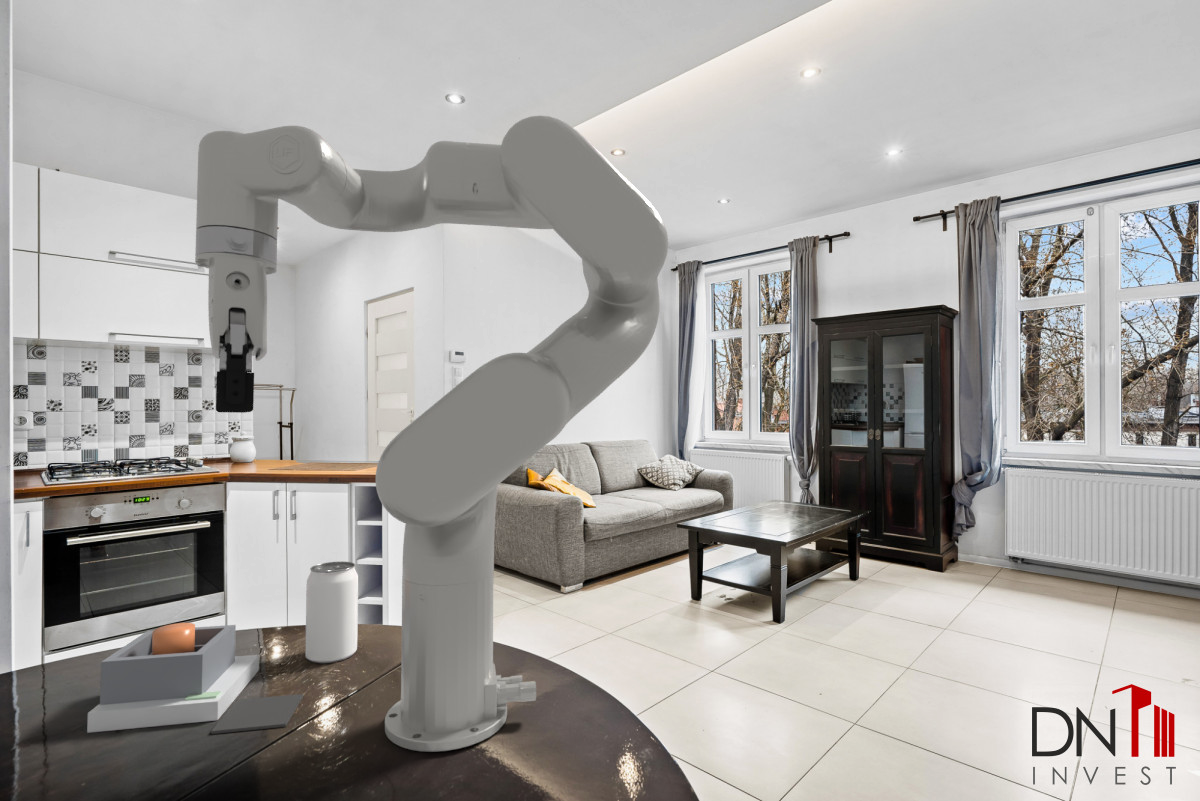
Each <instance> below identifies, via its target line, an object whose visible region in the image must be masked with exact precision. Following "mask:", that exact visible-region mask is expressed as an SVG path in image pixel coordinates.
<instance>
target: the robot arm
mask: <svg viewBox="0 0 1200 801" xmlns="http://www.w3.org/2000/svg"><path fill="white" fill-rule="evenodd" d="M196 188H197V189H196V220H195V221H196V224H195V225H196V227H195V228H196V229H195V260H194V262H195V263H196V265H199V266H200V267H203V268H206V269H208V289H207V290H208V291H207V292H208V293H207V294H208V301H207V302H208V304H207V305H208V310H207V311H208V329H209V331H208V332H209V339H210V340H209V341H210V346H211V351H212V356H213V357H214V358H216V359H219V368H218V369H219V370H218V371H216V385H215V411H217V413H237V414H238V413H239V414H240V413H242V414H244V413H251V412H253V411H254V403H255V402H254V399H255V398H254V396H255V395H254V392H255V390H254V389H255V372H252V371H253V356H254V357H255V361H261V360H262V359H263V358H264V357H265V356H266V355H267V352H268V340H267V338H268V337H267V336H268V335H267V330H268V327H267V326H268V325H267V324H268V286H267V285H268V284H267V281H268V280H267V275H268V276H269V275H272V274H276V273H277V265H278V264H277V263H278V259H277V258H278V228H279V227H278V226H279V224H278V223H279V222H278V221H279V219H278V218H279V217H278V216H279V200H281V201H283V202H286V203H287V204H290V205H292V206H295V207H296V208H297V209H299V210H301V212H303V213H305V214H306V215H307V216H308V217H310V218H311V219H312V220H314V221H315V222H317V223H319V224H321V225H324V226H327V227H330V228H334V229H337V230H338V229H339V230H347V231H348V230H349V231H361V232H363V231H364V232H374V233H375V232H377V233H400V232H401V233H402V232H407V231H412V230H413V231H415V230H418V229H419V230H420V229H425V228H430V227H433V226H435V225H439V224H450V225H451V224H454V225H472V226H484V227H486V226H487V227H489V226H490V227H506V228H516V229H534V230H554V232H555V233H556V234H557V235H558V236H559V237H560V238H561V239H562V240H563V241H564V242H565V243H566V244H567V245H568V246H569V248H571V249H572V250H573V251H574V253H576V254H577V256H579V258H580V259H581V261H582V262H581V264H582V271H583V277H584V280H585V282H586V283H585V284H586V285H587V289H588V296H587V299H586V301H585V304H584V306H583V307H582V308H581V309H580V310H579V311H578V312H576V313H575V314H574V315H572V316H571V317H569V318H568V319H566V320H565V321H563V323H561V324H560V325H559V326H558V327H557V328H556V329H555V330H554V331H552V333H550V334H549V335H548V336H546V337H545V338H544V339H543V340H542V341H540V342H539V343H538V344H537V345H535V346H534V347H533V348H531V349H530V350H529V351H528V352H511V353H506V354H502V355H499V356H497V357H495V358H493V359H491V360H489V361H487V362H485V363H484V364H482V365H481V366H480V367H478V368H477V369H475V370H474V371H473V372H472V373H471V374H469V375H468V376H467V377H465V378H464V379H463V380H462V381H461V382H459V383H458V384H456V386H454V387H453V388H452V389H451V390H450V391H449V392H447V393H446V394H445V395H443V396H442V397H441V398H440V399H439V400H437V401H436V402H435V403H434V404H433V405H431V406H430V407H429V408H428V409H426V410H425V411H424V412H423V413H421V415H419V416H418V417H416V418H415V419H414V420H413V421H412V422H411V423H409V424H408V425H407V426H406V427H405V428H404V429H402V430H401V431H400V432H399V433H397V435H395V437H394V438H392V439H391V441H390V442H389V443H388V444H387V446H386V447H384V448H385V449H384V450H383V451H382V454H381V455H380V458H379V459H378V461H377V462H378V463H377V467H376V471H375V488H376V493H377V496H378V499H379V501H380V502H381V505H382V506H383V508H384V509H385V511H386V512H387V513H389V514H390V515H391V516H392V517H393V518H394V519H396V520H398V521H400V522H401V523H404V524H405V525H404V526H405V527H404V532H403V533H404V534H403V543H402V544H403V546H402V573H401V574H402V576H401V577H402V579H401V580H402V581H401V582H402V584H401V650H400V651H401V657H400V658H401V659H400V661H401V662H400V664H401V665H400V666H401V667H400V668H401V669H400V670H401V671H400V672H401V674H400V675H401V677H400V686H401V687H400V700H399V701H397V702H396V703H394V704H393V705H392V707H391V708H389V709H388V711H387V713H386V715H385V717H384V732H385V735H386V737H387V738H388V740H390V742H392V743H393V744H395V745H397V746H398V747H401V748H404V749H406V750H407V749H408V750H410V751H415V752H416V751H417V752H426V753H427V752H428V753H433V752H434V753H435V752H438V753H439V752H448V751H453V750H459V749H463V748H467V747H470V746H473V745H475V744H479V743H480V742H483V741H484V740H487V739H488V738H490V737H492V736H493V735H495V733H497V732H498V731H500V729H501V728H502V727H503V726H504V724H505V722H506V720H507V716H508V703H514V702H519V703H522V702H523V703H524V702H534V701H536V700H537V685H536V684H537V682H536V680H533V681H523V680H524V679H523V675H521V674H519V675H511V676H505V677H502V674H497V670H496V664H495V663H494V571H495V532H496V531H495V530H496V529H495V528H496V511H497V498H498V485H501V483H502V482H503V481H505V480H506V479H507V478H508V477H509V476H511V475H512V474H514V472H515V471H516V470H518V469H519V468H520V467H522V466H523V465H524V464H525V463H527V461H529V460H530V459H531V458H532V457H533V456H534V455H537V453H538V452H539V451H540V450H542V449H543V448H544V447H545V446H547V445H548V444H549V443H550V442H551V441H553V440H554V439H555V438H556V437H557V436H558V435H560V433H561V432H562V431H563V429H564V428H565V427H566V426H567V424H568V423H569V422H570V421H571V420H572V419H574V417H576V416H577V415H578V414H579V413H580V412H581V411H582V410H584V409H585V408H586V407H587V406H588V405H589V404H591V403H592V402H593V401H594V400H596V398H598V397H599V396H600V395H601V394H602V393H603V392H604V391H606V390H607V389H608V387H610V386H611V385H612V384H613V383H614V382H616V381H617V379H619V378H620V377H621V376H622V375H623V374H625V372H626V371H628V370H629V369H630V368H631V367H632V366H633V365H634V364H635V363H636V362H637V361H638V360H639V359H640V357H641V356H642V355H643V354H644V353H645V351H646V349H647V348H648V346H649V345H650V343H651V341H652V339H653V336H654V334H655V332H656V328H657V324H658V321H659V316H660V315H659V314H660V309H661V308H660V293H659V292H660V291H659V282H658V281H659V279H658V277H659V275H660V272H661V270H662V269H663V267H664V264H665V262H666V259H667V256H668V252H669V251H668V250H669V238H668V232H667V229H666V225H665V222H664V221H663V219H662V217H661V216H660V213H659V212H658V210H656V208H655V207H654V205H652V203H651V202H650V201H649V200H648V199H647V198H646V197H645V196H644V195H643V194H642V193H641V192H640V191H639V190H638V189H637V188H636V187H635V186H634V184H632V183H631V182H630V181H629V180H628V179H627V178H626V177H625V176H624V175H623V174H622V173H620V171H619V170H618V169H617V168H616V167H615V166H614V165H613V164H612V163H611V162H610V161H609V160H608V159H607V158H606V157H605V156H604V155H603V154H602V153H601V152H600V151H599V150H598V149H597V148H596V147H595V146H594V145H593V144H592V143H591V142H590V141H589V140H588V139H587V138H586V137H585V136H584V135H583V134H581V133H580V132H579V131H578V130H577V129H575V127H573V126H571V125H570V124H569V123H566V122H565V121H563V120H561V119H559V118H555V117H552V116H549V115H548V116H547V115H531V116H528V117H525V118H523V119H522V118H521V119H520V120H519V121H517V122H515V123H514V124H513V125H512V126H511V127H510V128H509V129H508V130H507V132H506V134H505V135H504V136H503V138H502V142H501V144H491V143H478V142H477V143H476V142H464V141H452V140H439V141H436V142H435V143H433V144H431V146H430V147H429V148H428V150H427V151H426V154H425V156H423V159H422V160H421V161H420V162H419V163H417V164H416V165H414V166H412V167H409V168H406V169H400V170H393V171H391V170H390V171H389V170H371V169H358V168H353V167H351V165H350V164H349V163H348V162H347V161H346V160H345V159H344V158H343V157H342V156H341V155H340V154H339V153H338V151H336V150H335V149H334V148H333V147H332V146H331V145H330V144H329V143H328V141H327V140H326V139H324V138H323V137H322V135H320V134H319V133H318V132H316V131H315V130H313V129H310V128H309V127H304V126H300V125H284V126H283V125H282V126H277V127H273V128H268V129H263V130H258V131H254V132H248V133H243V132H238V131H230V130H216V131H211V132H209V133H206V134H205V135H203V137H202V138H201V139H200V141H199V143H198V151H197V186H196Z"/></svg>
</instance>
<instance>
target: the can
mask: <svg viewBox="0 0 1200 801" xmlns="http://www.w3.org/2000/svg"><path fill="white" fill-rule="evenodd" d="M355 567H356V563H355V562H351V561H330V562H329V561H328V562H323V563H318V564H315V565H313V566H311V567H310V569H309V570H310V573H309V575H308V576H307V579H306V598H305V599H306V600H305V603H306V604H305V658H306V659H307V660H308V661H309V662H311V663H316V664H333V663H336V662H337V663H338V662H340V661H344V660H347V659H348V658H351V657H352V656H353V655H355V653H356V651H357V650H358V627H359V626H358V625H359V624H358V622H359V620H358V618H359V616H358V614H359V574H358V572H357V570H356V569H355Z"/></svg>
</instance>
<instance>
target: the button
mask: <svg viewBox="0 0 1200 801" xmlns="http://www.w3.org/2000/svg"><path fill="white" fill-rule="evenodd" d="M195 627H196V625H195V623H192V622H178V623H172V624H166V625H162V626H160V627H157V628H155V629H153V630H154V631H153V636H152V655H161V654H175V653H189V652H194V651H195Z"/></svg>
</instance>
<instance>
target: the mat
mask: <svg viewBox="0 0 1200 801" xmlns="http://www.w3.org/2000/svg"><path fill="white" fill-rule="evenodd" d="M303 698H304V693H296V694H285V695H277V696H265V697H262V696H261V697H254V698H253V697H252V698H242V699H235V700H234V702H233V704H231V705H230V706H229V709H227V710H226V711H225V713H224V715H222V716H221V717H220V720H218V722H217V724H215V726H214V727H213V729H211V730H210V734H211V735H218V734H225V733H226V734H227V733H235V732H245V731H247V732H248V731H257V730H264V729H265V730H266V729H276V728H284V727H285V728H286V727H287V725H288V723H289V721H290V720H291V718H292V717H293V715H294V713H295V712H296V710H297V708H298V706H299V705H300V703H301V701H302V699H303Z"/></svg>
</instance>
